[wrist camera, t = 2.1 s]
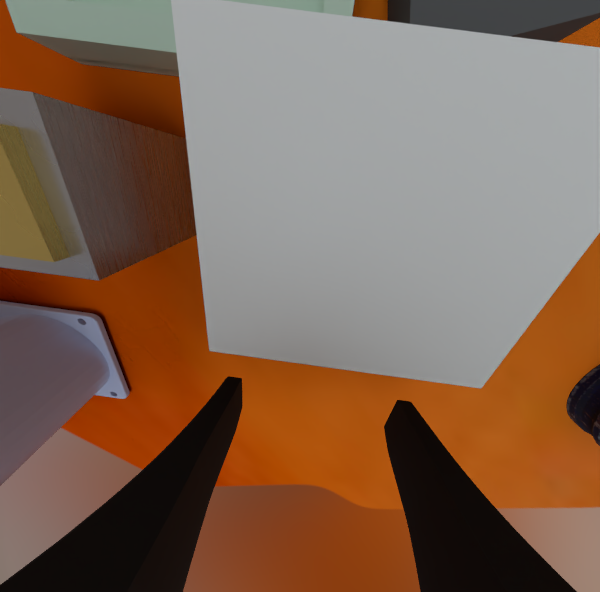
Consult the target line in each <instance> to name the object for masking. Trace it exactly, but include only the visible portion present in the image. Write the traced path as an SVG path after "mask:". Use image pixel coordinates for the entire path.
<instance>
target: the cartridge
mask: <svg viewBox="0 0 600 592" xmlns="http://www.w3.org/2000/svg"><path fill="white" fill-rule="evenodd" d="M195 235H197V234H196V224H195V215H194V206H193V197H192V188H191V179H190V170H189V161H188V151H187V142H186V138H183V137H179V136H176V135H173V134H169V133H166V132H163V131H159V130H156V129H153V128H149V127H146V126H143V125H140V124H136V123H133V122H130V121H126V120H123V119H120V118H116V117H113V116H110V115H106V114H103V113H100V112H97V111H93V110H90V109H87V108H83V107H80V106H77V105H73V104H70V103H67V102H63V101H60V100H57V99H53V98H50V97H47V96H44V95H40V94H37V93H34V92H28V91H20V90H12V89H5V88H0V267H3V268H10V269H18V270H25V271H33V272H40V273H47V274H55V275H62V276H69V277H77V278H84V279H92V280H102V279H104V278H106V277H108V276H110V275H112V274H114V273H116V272H119V271H121V270H123V269H125V268H127V267H129V266H131V265H134V264H136V263H138V262H140V261H142V260H144V259H146V258H148V257H151V256H153V255H155V254H157V253H159V252H161V251H163V250H166V249H168V248H170V247H172V246H174V245H176V244H178V243H180V242H183V241H185V240H187V239H189V238H191V237H193V236H195Z"/></svg>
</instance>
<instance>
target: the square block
mask: <svg viewBox="0 0 600 592" xmlns="http://www.w3.org/2000/svg"><path fill="white" fill-rule="evenodd" d="M598 18H600V0H388V21H391V22H399V23H407V24H415V25H423V26H431V27H439V28H447V29H455V30H463V31H471V32H479V33H487V34H495V35H503V36H511V37H519V38H527V39H535V40H543V41H551V42H558V41H560V40H561V39H563V38H565V37H567V36H568V35H570V34H572V33H574V32H575V31H577V30H579V29H581V28H582V27H584V26H586V25H588V24H589V23H591V22H593V21H595V20H596V19H598Z"/></svg>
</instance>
